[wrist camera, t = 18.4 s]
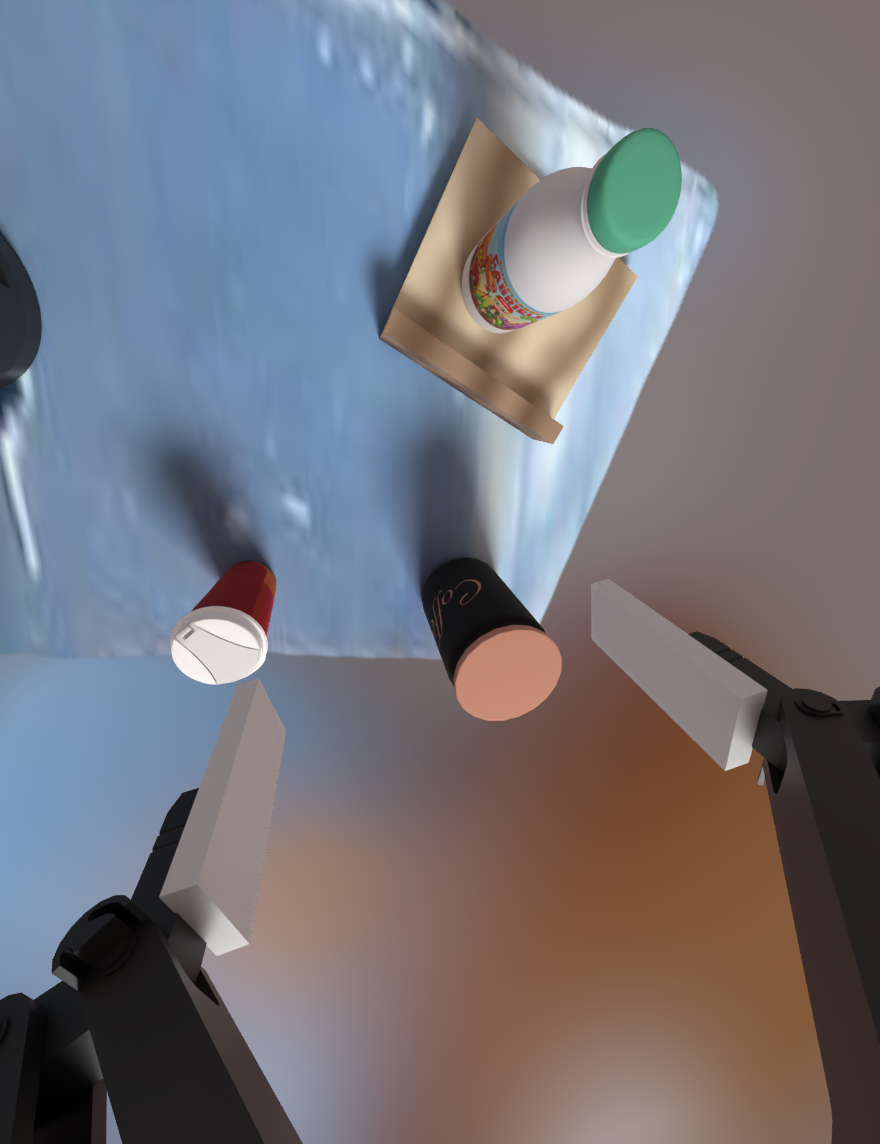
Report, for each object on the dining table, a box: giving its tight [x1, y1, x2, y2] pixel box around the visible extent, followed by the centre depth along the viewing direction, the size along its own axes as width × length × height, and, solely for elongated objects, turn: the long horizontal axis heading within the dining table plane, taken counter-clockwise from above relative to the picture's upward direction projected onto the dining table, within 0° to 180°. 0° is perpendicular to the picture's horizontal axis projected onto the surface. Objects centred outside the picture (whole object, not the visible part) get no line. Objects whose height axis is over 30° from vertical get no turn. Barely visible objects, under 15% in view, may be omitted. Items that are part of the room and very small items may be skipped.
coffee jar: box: [422, 558, 562, 721], centre depth 44 cm, size 11×11×18 cm
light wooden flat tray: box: [379, 118, 638, 444], centre depth 38 cm, size 20×18×5 cm
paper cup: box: [170, 561, 276, 684], centre depth 39 cm, size 8×8×14 cm
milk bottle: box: [462, 128, 682, 333], centre depth 28 cm, size 8×8×20 cm
